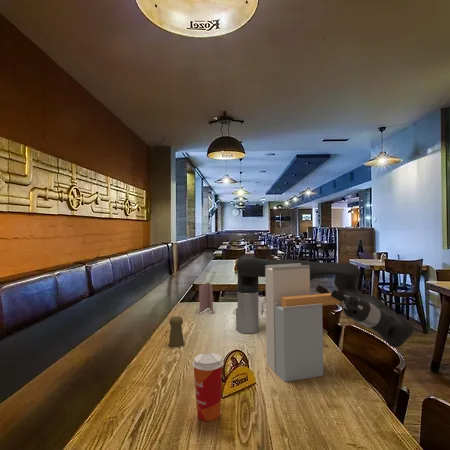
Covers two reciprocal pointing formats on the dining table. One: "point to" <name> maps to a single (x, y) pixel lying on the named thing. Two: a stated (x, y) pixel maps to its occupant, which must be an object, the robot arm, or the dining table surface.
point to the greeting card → (205, 297)
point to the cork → (176, 332)
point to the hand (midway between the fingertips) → (324, 290)
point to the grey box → (299, 341)
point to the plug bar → (309, 300)
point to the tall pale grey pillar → (282, 287)
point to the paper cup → (208, 385)
